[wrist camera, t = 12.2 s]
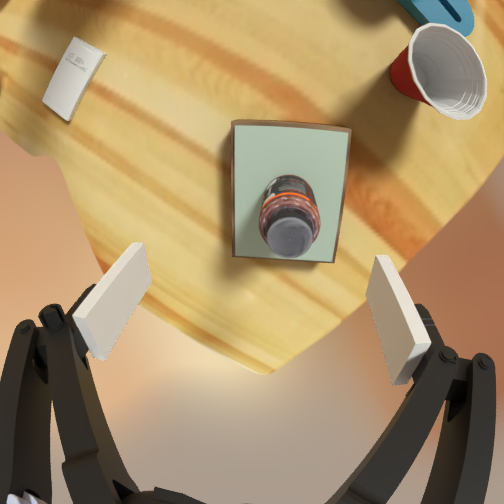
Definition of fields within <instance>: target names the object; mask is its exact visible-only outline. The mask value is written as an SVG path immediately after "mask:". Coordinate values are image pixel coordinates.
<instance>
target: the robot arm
mask: <svg viewBox="0 0 504 504" xmlns="http://www.w3.org/2000/svg"><path fill="white" fill-rule="evenodd" d="M151 283H152V279H151V274H150V269H149V265H148V260H147V255H146V250H145V245H144V243H139V242H133V243H132V244H131V245H130V246H129V247H128V248H127V249H126V251H125V252H124V253H123V254H122V255H121V256H120V257H119V259H118V260H117V261H116V262H115V263H114V264H113V266H112V267H111V268H110V269H109V270H108V271H107V273H106V274H105V275H104V276H103V278H102V279H101V280H100V281H99V282H98V283H97V284H93V285H91V286H90V287H89V288H87V289H86V290H85V291H84V292H83V294H82V295H81V296H80V297H79V298H78V300H77V302H75V303H74V305H73V306H72V307H71V308H70V310H69V311H68V312H67V314H66V315H65V314H64V312H63V309H62V307H61V305H59V304H50V305H48V306H45V307H44V308H43V309H42V310H41V311H40V313H39V316H38V317H39V319H40V321H41V323H42V325H43V327H36V325H35V323H34V321H33V320H30V319H27V320H24V321H22V322H20V323H19V324H18V325H17V326H16V328H15V331H14V334H13V337H12V340H11V343H10V347H9V350H8V353H7V357H6V360H5V364H4V368H3V372H2V376H1V381H0V504H52V482H51V465H50V420H51V403H52V401H53V407H54V412H55V417H56V422H57V427H58V431H59V436H60V440H61V444H62V447H63V451H64V455H65V462H63V463H62V471H63V475H64V478H65V481H66V484H67V487H68V490H69V493H70V496H71V499H72V501H73V504H206V503H203V502H201V501H198V500H196V499H194V498H192V497H189V496H187V495H185V494H183V493H178V492H174V491H170V490H166V489H162V488H158V487H155V488H154V491H143V492H140V491H139V489H138V487H137V486H136V484H135V483H134V481H133V480H132V479H131V477H130V476H129V474H128V473H127V471H126V468H125V466H124V464H123V462H122V459H121V457H120V455H119V452H118V450H117V448H116V445H115V443H114V440H113V438H112V435H111V432H110V430H109V427H108V424H107V422H106V419H105V416H104V413H103V410H102V407H101V404H100V401H99V398H98V395H97V391H96V388H95V384H94V381H93V377H92V373H91V370H90V366H89V362H88V359H87V357H86V353H87V351H88V350H89V351H90V353H91V355H92V356H93V358H97V359H101V360H104V361H106V359H107V357H108V355H109V353H110V352H111V350H112V348H113V346H114V345H115V343H116V341H117V339H118V337H119V336H120V334H121V332H122V331H123V329H124V327H125V325H126V324H127V322H128V320H129V318H130V317H131V315H132V314H133V312H134V310H135V309H136V307H137V305H138V304H139V302H140V300H141V299H142V297H143V295H144V294H145V292H146V291H147V289H148V287H149V286H150V284H151ZM366 297H367V300H368V303H369V306H370V309H371V312H372V316H373V318H374V322H375V325H376V328H377V332H378V335H379V338H380V341H381V345H382V349H383V352H384V356H385V360H386V363H387V367H388V371H389V375H390V379H391V383H392V385H401V384H407V383H408V381H409V379H410V378H411V377H412V378H413V380H414V384H413V385H412V387H411V388H410V390H409V391H408V393H407V394H406V397H405V399H404V401H403V402H402V404H401V406H400V407H399V409H398V411H397V412H396V414H395V415H394V417H393V418H392V420H391V422H390V423H389V425H388V426H387V428H386V429H385V431H384V432H383V433H382V435H381V436H380V438H379V439H378V441H377V442H376V443H375V445H374V446H373V447H372V449H371V450H370V452H369V453H368V454H367V455H366V457H365V458H364V459H363V461H362V462H361V463H360V464H359V466H358V467H357V468H356V469H355V471H354V472H353V473H352V474H351V475H350V477H349V478H348V479H347V480H346V482H344V484H343V485H342V486H341V487H340V488H339V489H338V490H337V492H336V493H335V494H334V495H333V496H332V497H331V498H330V499H329V500H328V501H327V502H326V503H325V504H386V503H387V501H388V500H389V498H390V497H391V496H392V494H393V493H394V491H395V490H396V489H397V487H398V486H399V484H400V483H401V481H402V479H403V478H404V476H405V475H406V473H407V472H408V470H409V469H410V467H411V465H412V464H413V462H414V460H415V458H416V457H417V455H418V453H419V451H420V449H421V448H422V446H423V444H424V442H425V440H426V439H427V437H428V435H429V433H430V430H431V429H432V427H433V425H434V423H435V420H436V418H437V416H438V414H439V412H440V410H441V407H442V405H443V403H444V401H445V400H446V404H445V411H444V417H443V422H442V428H441V433H440V438H439V442H438V447H437V451H436V455H435V459H434V463H433V466H432V470H431V473H430V477H429V480H428V483H427V487H426V489H425V493H424V495H423V498H422V501H421V504H484V500H485V495H486V491H487V486H488V481H489V476H490V470H491V463H492V456H493V446H494V437H495V420H496V375H495V365H494V362H493V360H492V358H490V357H489V356H488V355H487V354H484V353H478V354H476V355H475V356H474V357H473V359H472V360H468V359H463V358H459V357H458V354H457V353H456V352H455V351H454V350H453V349H452V348H450V347H448V346H445V345H444V343H443V340H442V338H441V336H440V334H439V332H438V330H437V328H436V326H435V324H434V322H433V320H432V318H431V316H430V314H429V312H428V310H427V309H426V308H425V307H424V306H423V305H422V304H414V303H413V301H412V300H411V297H410V295H409V294H408V292H407V289H406V288H405V286H404V284H403V282H402V280H401V278H400V276H399V274H398V272H397V270H396V269H395V267H394V265H393V263H392V261H391V260H390V258H389V256H388V255H376V256H375V261H374V265H373V269H372V273H371V277H370V280H369V284H368V288H367V291H366Z"/></svg>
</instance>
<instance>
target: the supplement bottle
mask: <svg viewBox="0 0 504 504" xmlns="http://www.w3.org/2000/svg"><path fill="white" fill-rule="evenodd" d="M320 226H321V221H320V215H319V211H318V207H317V204H316V200H315V197H314V193H313V190H312V189H311V187H310V185H309V184H308V183H307V182H306V181H305V180H304V179H303V178H301V177H299V176H296V175H282V176H279V177H277V178H275V179H274V180H272V181H271V182H270V184H269V185H268V187H267V188H266V191H265V194H264V198H263V202H262V207H261V211H260V215H259V231H260V234H261V236H262V238H263V240H264V241H265V242H266V244H267V245H268V246H269V248H270V249H271V250H272V252H274V253H275V254H276V255H278V256H280V257H283V258H297V257H299V256H302V255H303V254H305V253H306V252H307V251H308V250H309V248H310V247H311V245H312V244H313V243H314V241H315V240H316V238H317V237H318V235H319V232H320Z"/></svg>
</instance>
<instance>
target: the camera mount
mask: <svg viewBox="0 0 504 504" xmlns="http://www.w3.org/2000/svg"><path fill="white" fill-rule="evenodd" d="M397 1H398V2H399V3H400V4H401V5H402V6H403V7H404V8H405V9H406V10H407V11H408V12H409V13H410V14H411V16H412V17H413V18H414V19H415V20H416V21H417V22H418V23H419V24H420V25H421V26H424V25H426V24H428V23H437V24H445V25H447V26H449V27H450V28H452V29H454V30H456V31H458V32H459V33H461V34H462V35H463V36H464V37H466V36H468V35H470V34H471V32H472V30H473V28H474V16H473V12H472V9H471V7H470V5H469V3H468V1H467V0H397Z"/></svg>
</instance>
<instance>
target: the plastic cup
mask: <svg viewBox="0 0 504 504" xmlns="http://www.w3.org/2000/svg"><path fill="white" fill-rule="evenodd" d="M390 76H391V80H392V82H393V84H394V85H395V87H396V89H398V90H399V91H400V92H401V93H403V94H404V95H407V96H409V97H411V98H413V99H416V100H418V101H421V102H424V103H426V104H428V105H430V106H432V107H434V108H435V109H436V110H437V111H438V112H439V113H441V114H444V115H446V116H448V117H451V118H453V119H455V120H461V119H470V118H472V117H473V116H474V115H476V114H477V113H478V112H480V111H481V109H482V106H483V104H484V102H485V100H486V96H487V78H486V74H485V70H484V67H483V63H482V61H481V59H480V57H479V56H478V54H477V52H476V50H475V49H474V47H473V46H472V45H471V44H470V42H469V41H468V40H467V39H466V38H465V37H464V36H463V35H462V34H461V33H459V32H458V31H456V30H454V29H452V28H450V27H449V26H447V25H445V24H437V23H428V24H426V25H424V26H421V27H419V28H417V29H416V31H415V33H414V35H413V36H412V38H411V40H410V42H409V45H408V46H407V47H406V48H405V49H404V50H403V51H402V52H401V53H400V54H399V56H398V57H397V58H396V59H395V60H394V62H393V63H392V65H391V69H390Z"/></svg>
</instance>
